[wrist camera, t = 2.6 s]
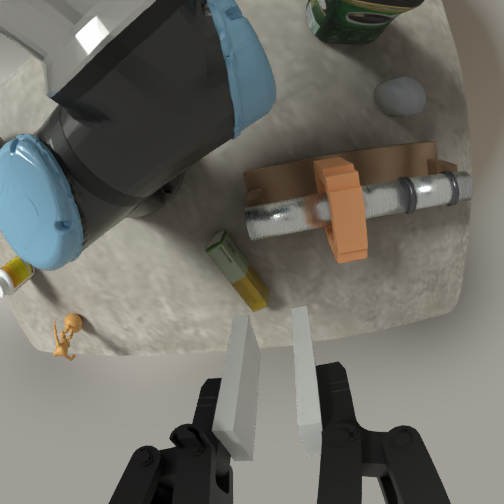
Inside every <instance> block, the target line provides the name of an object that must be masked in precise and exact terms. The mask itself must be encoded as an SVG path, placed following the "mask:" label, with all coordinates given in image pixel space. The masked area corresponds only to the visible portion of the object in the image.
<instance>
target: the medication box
mask: <svg viewBox="0 0 504 504" xmlns="http://www.w3.org/2000/svg"><path fill="white" fill-rule="evenodd" d="M205 251H206V252H207V253H208V255H209V256H210V257H211V259H212V260H213V261H214V262H215V264H216V265H217V266H218V268H219V269H220V270H221V272H222V273H223V274H224V275H225V277H226V278H227V279H228V281H229V282H230V283H231V284H232V286H233V287H234V288H235V289H236V291H237V292H238V293H239V294H240V296H241V297H242V298H243V300H244V301H245V302H246V303H247V305H248V306H249V307H250V308H251V310H252V311H253V312H255V311H257V310H260V309H262V308H264V307H266V306H267V305H268V296H269V290H268V289H267V287H266V286H265V284H264V283H263V282H262V280H261V279H260V277H259V276H258V275H257V273H256V272H255V270H254V269H253V268H252V266H251V265H250V263H249V262H248V261H247V259H246V258H245V256H244V255H243V254H242V252H241V251H240V249H239V248H238V247H237V245H236V244H235V242H234V241H233V240H232V238H231V237H230V236H229V234H228V233H227V232H226V230H223V231H221V232H219V233H217V234H216V235H215V236H213V237H212V238H211V240H210V242H209V244H208V246H207V248H206V250H205Z"/></svg>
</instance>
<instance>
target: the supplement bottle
mask: <svg viewBox="0 0 504 504" xmlns="http://www.w3.org/2000/svg"><path fill="white" fill-rule="evenodd" d="M34 272H35V269H34V266H33V265H31V264H28V263H27V262H25V261H24V260H23V259H21V258H20V257H19V256H17V257H15V258H14V259H13V260H11V261H10V262H9V263H7V264H6V265H5V266H3V267H2V268H1V269H0V297H1V298H2V297H4V296H5V295H6V294H7V295H12V294H13V293H14V292H16V291H17V290H18V289H19V288H20V287H21V286H22V285H23V284H25V283H26V282H27V281H28V280H29V279H30V278H31V277H32V276H33V275H34Z"/></svg>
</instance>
